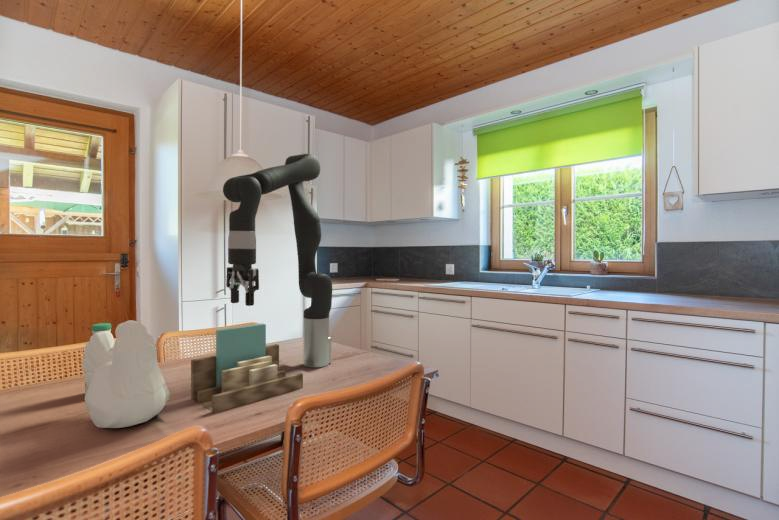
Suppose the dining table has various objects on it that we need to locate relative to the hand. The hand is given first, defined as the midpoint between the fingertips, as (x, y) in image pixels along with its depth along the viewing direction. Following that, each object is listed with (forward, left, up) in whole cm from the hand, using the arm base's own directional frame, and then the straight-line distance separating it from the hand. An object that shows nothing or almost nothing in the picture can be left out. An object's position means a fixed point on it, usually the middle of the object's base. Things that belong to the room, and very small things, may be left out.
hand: (242, 304), depth 117 cm
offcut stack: (0, +5, -25) cm, 25 cm away
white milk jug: (+28, -6, -26) cm, 39 cm away
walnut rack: (0, +4, -26) cm, 26 cm away
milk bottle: (+27, -30, -26) cm, 48 cm away
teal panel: (0, 0, -25) cm, 25 cm away
